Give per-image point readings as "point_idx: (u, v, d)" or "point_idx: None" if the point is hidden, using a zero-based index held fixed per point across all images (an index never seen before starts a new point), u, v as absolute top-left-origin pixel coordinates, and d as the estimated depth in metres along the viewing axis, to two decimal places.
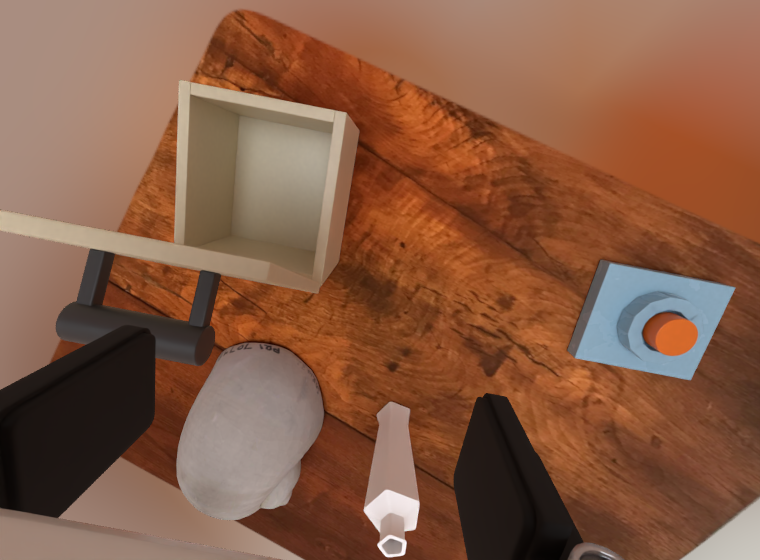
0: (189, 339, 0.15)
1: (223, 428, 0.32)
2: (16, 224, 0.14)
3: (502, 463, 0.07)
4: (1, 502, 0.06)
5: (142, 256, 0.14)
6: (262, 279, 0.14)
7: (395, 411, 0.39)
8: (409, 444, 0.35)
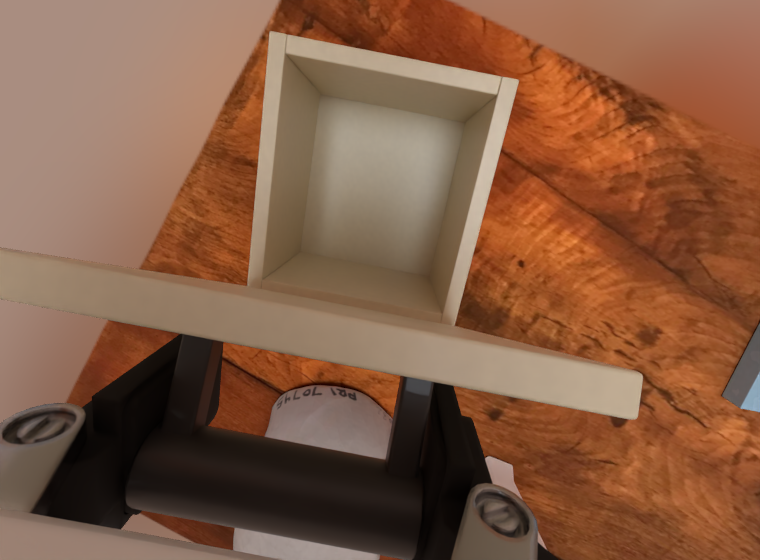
0: (405, 516, 0.07)
1: None
2: (46, 287, 0.06)
3: (429, 422, 0.08)
4: (119, 476, 0.07)
5: (347, 362, 0.06)
6: (631, 416, 0.06)
7: (498, 470, 0.31)
8: None
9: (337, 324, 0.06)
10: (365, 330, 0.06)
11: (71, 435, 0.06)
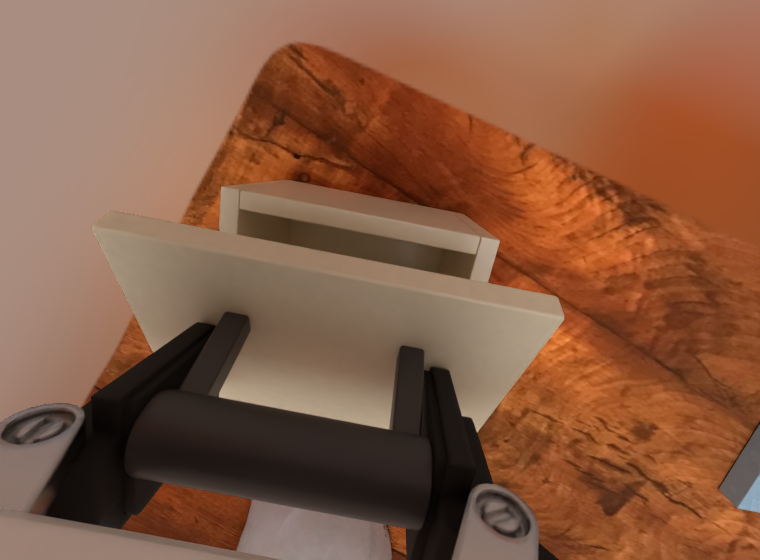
0: (416, 449, 0.07)
1: None
2: (168, 232, 0.09)
3: (430, 422, 0.08)
4: (117, 477, 0.07)
5: (367, 278, 0.09)
6: (560, 315, 0.09)
7: None
8: None
9: (360, 261, 0.09)
10: (378, 265, 0.09)
11: (70, 435, 0.06)
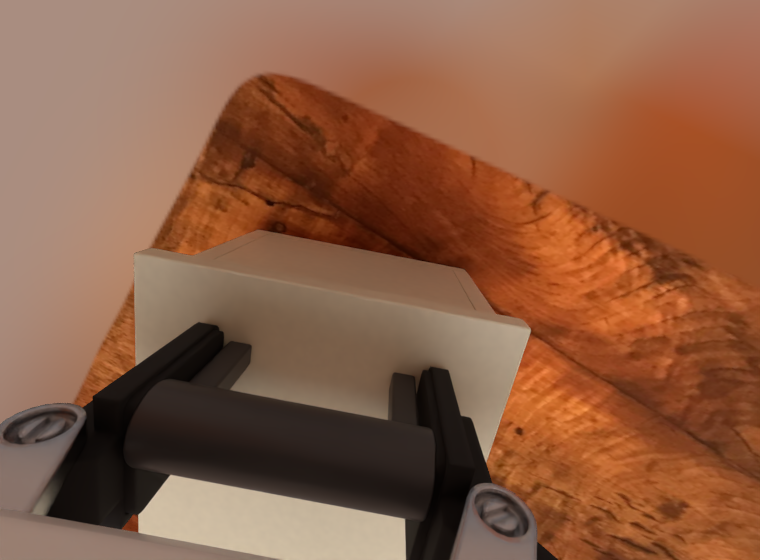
0: (417, 428, 0.08)
1: None
2: (198, 261, 0.10)
3: (429, 422, 0.08)
4: (119, 477, 0.07)
5: (366, 296, 0.10)
6: (527, 327, 0.10)
7: None
8: None
9: (358, 288, 0.11)
10: (373, 291, 0.11)
11: (72, 435, 0.06)
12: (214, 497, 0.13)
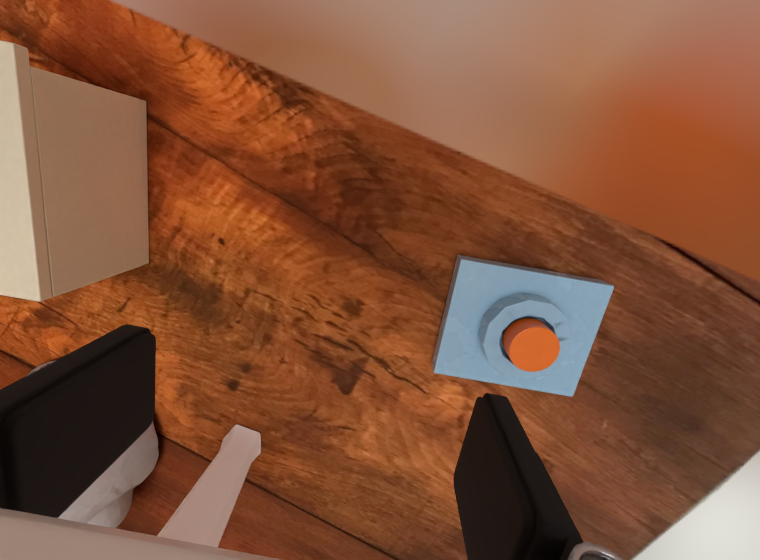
0: None
1: None
2: None
3: (502, 463, 0.07)
4: (1, 502, 0.06)
5: None
6: (10, 42, 0.17)
7: (237, 437, 0.33)
8: (232, 480, 0.29)
9: None
10: None
11: None
12: None
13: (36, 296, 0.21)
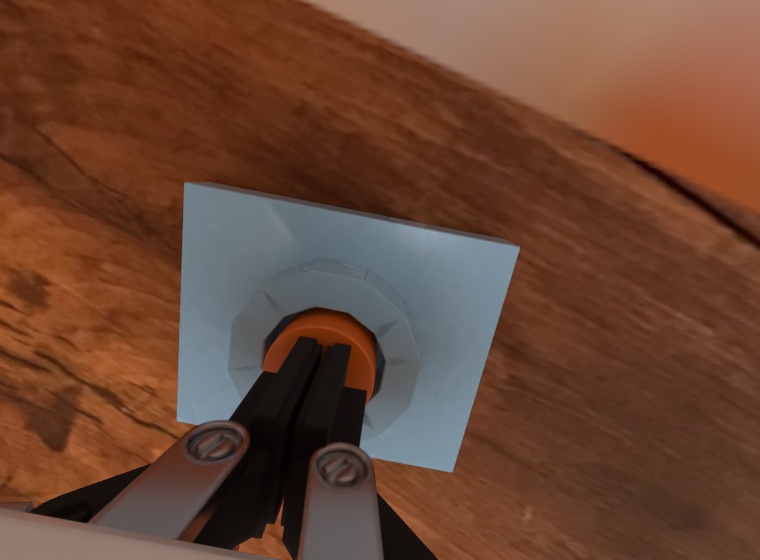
0: None
1: None
2: None
3: None
4: (266, 489, 0.08)
5: None
6: None
7: None
8: None
9: None
10: None
11: (246, 452, 0.06)
12: None
13: None
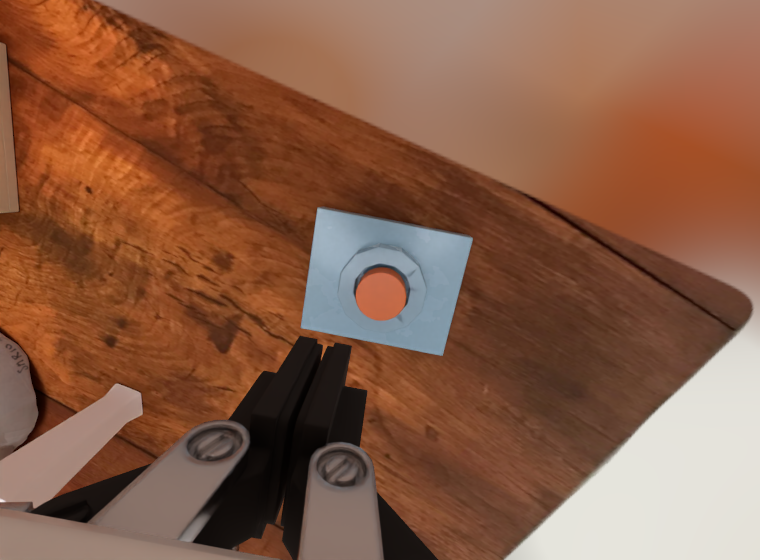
0: None
1: None
2: None
3: (309, 390, 0.09)
4: (266, 489, 0.08)
5: None
6: None
7: (113, 394, 0.33)
8: (88, 432, 0.28)
9: None
10: None
11: (246, 452, 0.06)
12: None
13: None
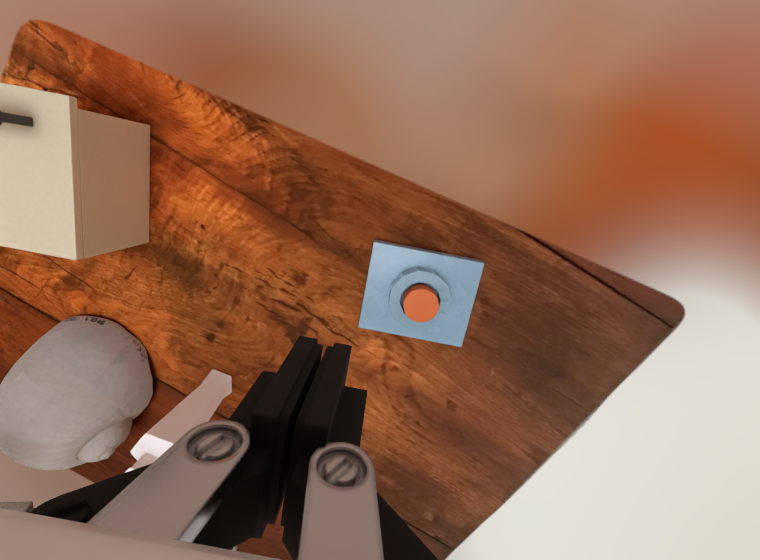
0: None
1: (25, 385, 0.36)
2: None
3: None
4: (266, 489, 0.08)
5: None
6: (67, 95, 0.28)
7: (213, 377, 0.44)
8: (206, 403, 0.39)
9: None
10: None
11: (246, 452, 0.06)
12: None
13: (73, 256, 0.31)
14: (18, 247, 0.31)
